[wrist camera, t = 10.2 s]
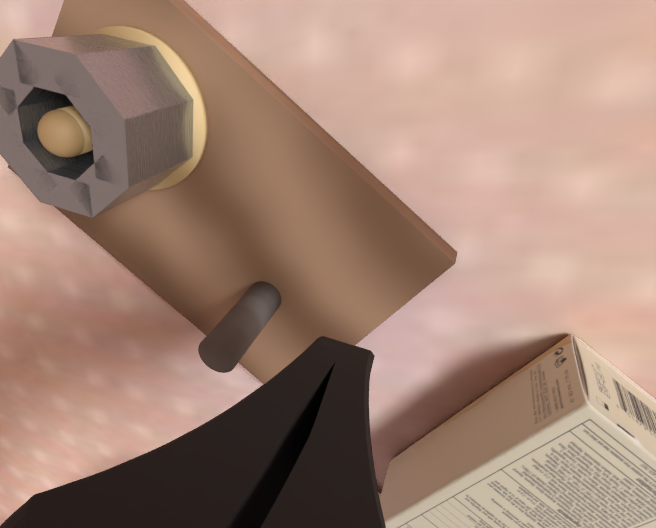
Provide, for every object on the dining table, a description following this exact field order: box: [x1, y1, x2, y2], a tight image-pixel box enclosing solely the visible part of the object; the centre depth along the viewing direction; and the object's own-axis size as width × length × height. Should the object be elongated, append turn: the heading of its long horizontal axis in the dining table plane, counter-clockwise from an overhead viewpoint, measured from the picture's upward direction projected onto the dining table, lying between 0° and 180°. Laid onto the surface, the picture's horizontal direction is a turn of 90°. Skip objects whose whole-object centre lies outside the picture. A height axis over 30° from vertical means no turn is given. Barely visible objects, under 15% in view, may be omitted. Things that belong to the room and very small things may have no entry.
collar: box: [0, 34, 193, 218], centre depth 18 cm, size 6×6×4 cm
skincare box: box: [380, 335, 656, 528], centre depth 21 cm, size 6×4×12 cm
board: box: [8, 0, 457, 384], centre depth 19 cm, size 12×18×6 cm, turn 51°
